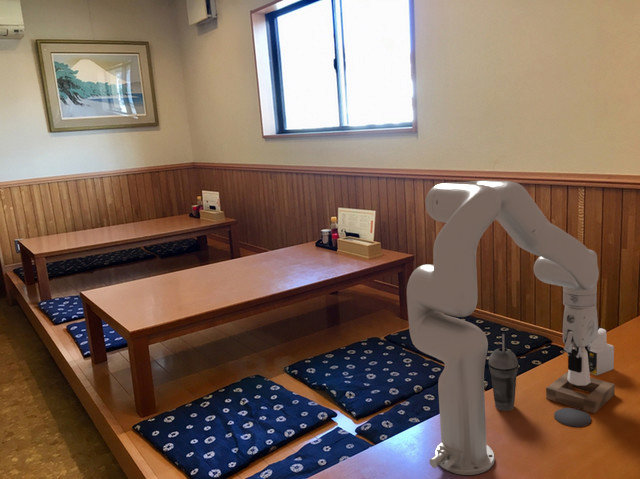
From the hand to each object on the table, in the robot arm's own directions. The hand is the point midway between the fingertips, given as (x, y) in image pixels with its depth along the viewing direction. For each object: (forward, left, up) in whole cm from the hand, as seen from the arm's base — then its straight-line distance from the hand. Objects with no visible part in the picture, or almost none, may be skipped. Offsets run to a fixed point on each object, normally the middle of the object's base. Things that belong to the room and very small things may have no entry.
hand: (578, 367), depth 139 cm
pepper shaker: (0, 0, -4) cm, 4 cm away
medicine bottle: (+19, +4, -9) cm, 21 cm away
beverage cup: (-15, +12, -8) cm, 21 cm away
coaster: (-10, -3, -8) cm, 14 cm away
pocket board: (+1, 0, -8) cm, 8 cm away
